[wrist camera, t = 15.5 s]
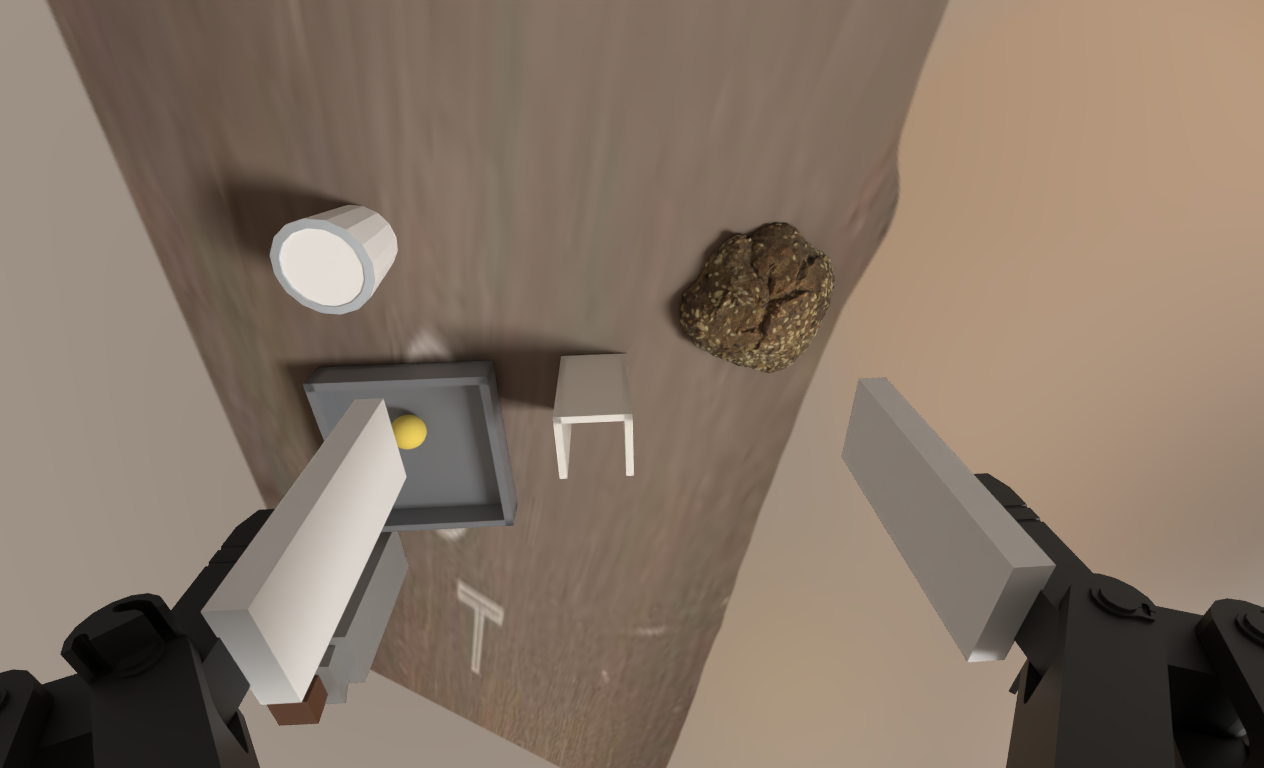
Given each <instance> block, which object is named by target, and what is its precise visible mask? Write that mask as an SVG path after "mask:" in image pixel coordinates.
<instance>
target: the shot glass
mask: <svg viewBox="0 0 1264 768" xmlns="http://www.w3.org/2000/svg"><path fill="white" fill-rule="evenodd" d="M397 251H398V249H397V240H396V236H395V234H394V232H393V230H392V228H391V226H390V224H389V223H388V222H387V221H386V220H385V219H384V218H383V217H382V216H380V215H379V214H378V213H377V212H375V211H373V210H371V209H369V208H366V207H364V206H357V205H346V206H343V207H339V208H336V209H333V210H330V211H326V212H323V213H320V214H317V215H313V216H310V217H307V218H303V219H300V220H298V221H295V222H292V223H289V224H286V225H285V226H284V227H283V228H282V229H281V230H280V231H279V232H278V233H277V234H276V235H275V237H274V238H273V243H272V247H271V252H270V258H271V262H272V267H273V271H274V274H275V276H276V277H277V279H278V280H279V282H280V283H281V285H282V286H283V288H284V289H285V291H286V292H287V293H288V294H290V295H291V296H292V297H293V298H295V299H296V300H297V301H298V302H300V303H301V304H302V305H304V306H306V307H309V308H311V309H314V310H316V311H319V312H321V313H329V314H345V313H348V312H351V311H354V310H357V309H359V308H360V307H361V306H362V305H363V304H364V303H365V302H366V301H367V300H369V299H370V297H371V296H372V294H373V293H374V291H375V290H376V288H377V287H378V285H379V284H380V282H381V281H382V279H383V278H384V276H385V275H386V273H387V272H388V270H389V269H390V267H391V266H392V264H393V263H394V260H395V257H396V254H397Z"/></svg>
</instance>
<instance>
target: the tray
mask: <svg viewBox="0 0 1264 768" xmlns="http://www.w3.org/2000/svg"><path fill="white" fill-rule="evenodd" d="M303 387H304V390H305V392H306V395H307V397H308V400H309V403H310V405H311V408H312V411H313V413H314V416H315V419H316V421H317V424H318V426H319V429H320V432H321V434H322V437H323V440H324V441H325V440H326V438H327V437H328V436H329V434H330V433H331V432H332V430H333V429H334V427H335V426H336V425H337V423H338V422H339V421H340V419H341V418H342V416H343V415H344V414H345V412H346V411H347V410H348V408H349V407H350V405H351V404H352V403H353V401H354V400H356V399H380V398H383V399H384V402H385V406H386V409H387V412H388V416H389V419H390V422H391V424H392V423H393V421H394V420H395V419H397V418H398V417H400V416H403V415H415V416H417V417H419V418H420V419H421V420H422V421H423V422H424V423H425V425H426V429H427V434H426V437H425V440H424V441H423V442H422V444H420V445H419V446H418V447H416V448H413V449H402V448H399V447H398V450H399V453H400V456H401V460H402V463H403V466H404V470H405V473H406V479H405V481H404V484H403V486H402V488H401V490H400V492H399V494H398V496H397V499H396V501H395V503H394V505H393V507H392V509H391V511H390V514H389V516H388V518H387V520H386V522H385V524H384V526H383V529H382V531H381V532H395V531H415V530H435V529H454V528H474V527H493V526H513V525H514V521H515V515H516V510H517V500H516V494H515V488H514V482H513V476H512V470H511V464H510V458H509V452H508V446H507V440H506V435H505V429H504V423H503V417H502V411H501V405H500V399H499V393H498V387H497V381H496V376H495V370H494V364H493V360H485V361H460V362H436V363H411V364H387V365H362V366H338V367H318V368H317V369H316V370H315V371H314V372H313V373H312V374H311V376H310V377H309V378H308V379H307V380H306V381H305V382H304V383H303Z"/></svg>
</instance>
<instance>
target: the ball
mask: <svg viewBox="0 0 1264 768" xmlns="http://www.w3.org/2000/svg"><path fill="white" fill-rule="evenodd" d="M391 426H392V429H393V433H394V436H395V439H396V443H397V446H398V447H399V448H402V449H413V448H416V447H418V446H419V445H420V444H422V442H423V441H424V440H425V437H426V434H427V429H426V425H425V423H424V422H423V421H422V420H421V419H420V418H419V417H417V416H415V415H403V416H400V417H398V418H397V419H395V420H394V421H393V423H392V424H391Z"/></svg>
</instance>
